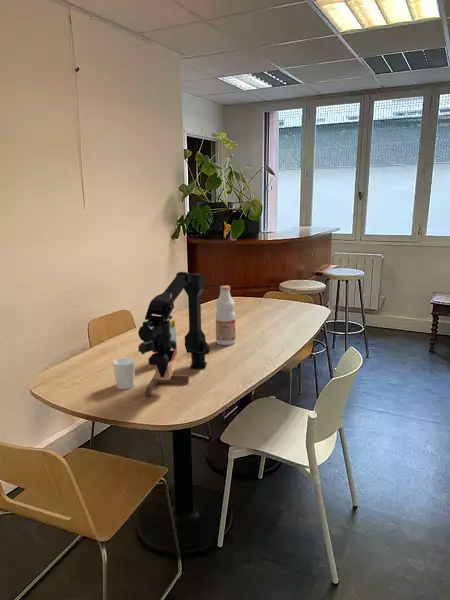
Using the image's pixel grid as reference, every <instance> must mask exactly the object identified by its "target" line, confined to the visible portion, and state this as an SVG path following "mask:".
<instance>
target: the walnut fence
mask: <svg viewBox="0 0 450 600" xmlns="http://www.w3.org/2000/svg"><path fill="white" fill-rule="evenodd" d="M189 376H190V375H188V374H172V376H171V378H170V380H156V374H155V373H154V374H153V377H152V378H151V380H150V381H149V383H148V385H147V387H146V388H145V397H147V398H150V397H151V395H152V394H153V392H154V390H155V388H156V386H157V385H158V384H159V383H160V384H187V385H188V384H189V381H190V378H189Z"/></svg>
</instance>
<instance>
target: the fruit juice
mask: <svg viewBox="0 0 450 600" xmlns="http://www.w3.org/2000/svg"><path fill="white" fill-rule="evenodd" d="M219 291H220V293H219V296H218V298H217V300H216V302H215V308H216V312H215V342H216V344H217V345H220V346H232V345H234V344H235V343H236V312H235V308H236V304H235V300H234V299H233V298H232V295H231V292H230V291H231V286H230V285H220V286H219Z"/></svg>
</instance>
